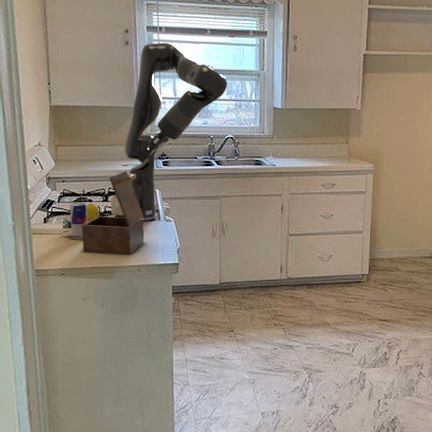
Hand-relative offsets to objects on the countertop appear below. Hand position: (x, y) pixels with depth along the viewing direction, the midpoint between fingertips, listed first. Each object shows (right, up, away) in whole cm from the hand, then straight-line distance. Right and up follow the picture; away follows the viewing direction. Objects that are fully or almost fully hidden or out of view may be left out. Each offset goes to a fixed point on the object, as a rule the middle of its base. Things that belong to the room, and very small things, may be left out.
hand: (144, 157), depth 182 cm
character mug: (-15, -24, +28) cm, 40 cm away
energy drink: (-27, -26, +18) cm, 42 cm away
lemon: (-29, -22, +37) cm, 52 cm away
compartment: (-12, -29, +8) cm, 33 cm away
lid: (-7, -13, +4) cm, 15 cm away
